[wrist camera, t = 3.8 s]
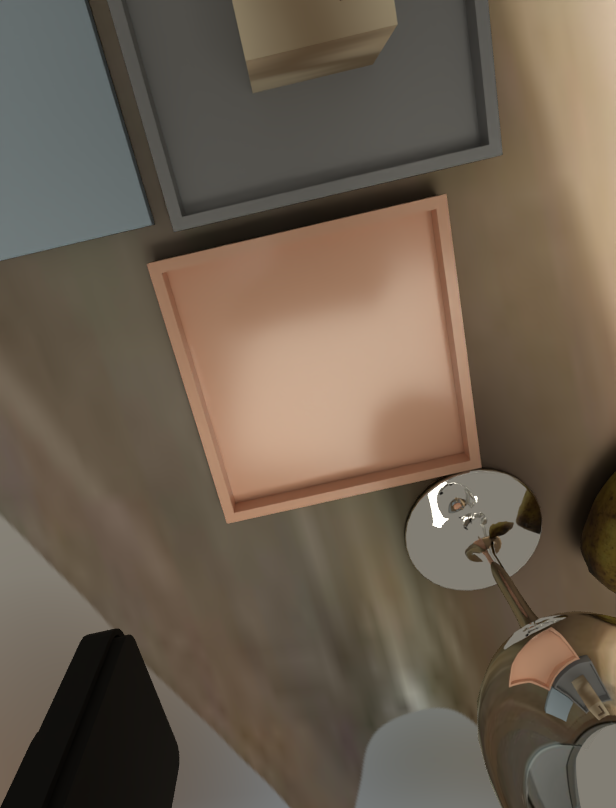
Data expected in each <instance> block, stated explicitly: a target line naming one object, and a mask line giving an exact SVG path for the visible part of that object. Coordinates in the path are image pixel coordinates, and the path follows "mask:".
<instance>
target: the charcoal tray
mask: <svg viewBox="0 0 616 808" xmlns="http://www.w3.org/2000/svg"><path fill="white" fill-rule="evenodd" d="M107 2H108V5H109V9H110V12H111V16H112V19H113V23H114V26H115V30H116V33H117V36H118V40H119V43H120V47H121V50H122V54H123V57H124V61H125V64H126V68H127V71H128V75H129V78H130V82H131V85H132V88H133V92H134V95H135V99H136V102H137V106H138V109H139V113H140V116H141V120H142V123H143V127H144V130H145V134H146V137H147V140H148V144H149V147H150V151H151V154H152V158H153V161H154V165H155V168H156V172H157V175H158V179H159V182H160V186H161V189H162V192H163V196H164V199H165V203H166V206H167V210H168V213H169V217H170V220H171V224H172V227H173V231H174V232H177V231H182V230H186V229H190V228H195V227H199V226H203V225H207V224H212V223H216V222H220V221H224V220H229V219H233V218H237V217H242V216H246V215H250V214H254V213H259V212H263V211H267V210H271V209H276V208H280V207H284V206H288V205H293V204H297V203H301V202H305V201H310V200H314V199H318V198H322V197H327V196H331V195H335V194H340V193H344V192H348V191H352V190H357V189H361V188H365V187H369V186H374V185H378V184H382V183H386V182H391V181H395V180H399V179H403V178H408V177H412V176H416V175H420V174H425V173H429V172H433V171H437V170H442V169H446V168H450V167H455V166H459V165H463V164H467V163H472V162H476V161H480V160H484V159H489V158H492V157H496V156H500V155H503V153H502V143H501V132H500V122H499V111H498V100H497V90H496V79H495V69H494V58H493V48H492V37H491V27H490V16H489V6H488V0H394V2H395V9H396V16H397V23H398V25H397V26H396V28H395V29H394V31H393V33H392V34H391V36H390V37H389V39H388V41H387V42H386V44H385V46H384V47H383V49H382V50H381V52H380V54H379V55H378V57H377V58H376V60H375V62H374V63H373V65H368V66H364V67H360V68H356V69H352V70H348V71H343V72H339V73H335V74H331V75H327V76H323V77H318V78H314V79H310V80H306V81H302V82H298V83H294V84H289V85H285V86H281V87H277V88H273V89H269V90H264V91H260V92H256V93H253V92H252V88H251V83H250V79H249V74H248V70H247V65H246V61H245V56H244V52H243V48H242V43H241V39H240V34H239V30H238V25H237V21H236V16H235V12H234V8H233V3H232V0H107Z"/></svg>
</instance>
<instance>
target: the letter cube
mask: <svg viewBox="0 0 616 808" xmlns="http://www.w3.org/2000/svg"><path fill="white" fill-rule="evenodd" d="M232 3H233V8H234V12H235V16H236V21H237V25H238V30H239V34H240V39H241V43H242V48H243V52H244V56H245V61H246V65H247V70H248V74H249V79H250V83H251V88H252V92H253V93H256V92H260V91H264V90H269V89H273V88H277V87H281V86H285V85H289V84H294V83H298V82H302V81H306V80H310V79H314V78H318V77H323V76H327V75H331V74H335V73H339V72H343V71H348V70H352V69H356V68H360V67H364V66H368V65H373V63H374V62H375V60H376V58H377V57H378V55H379V54H380V52H381V50H382V49H383V47H384V46H385V44H386V42H387V41H388V39H389V37H390V36H391V34H392V33H393V31H394V29H395V28H396V26H397V25H398V23H397V16H396V9H395V2H394V0H232Z"/></svg>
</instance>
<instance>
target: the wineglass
mask: <svg viewBox="0 0 616 808" xmlns="http://www.w3.org/2000/svg"><path fill="white" fill-rule="evenodd" d="M541 532H542V514H541V509H540V505H539V503H538V501H537V499H536V497H535V495H534V494H533V492H532V491H531V490H530V489H529V487H528V486H527V485H526V484H524V483H523V482H522V481H520V480H519V479H518V478H516V477H514V476H512V475H510V474H508V473H505V472H501V471H497V470H494V469H472V470H468V471H463V472H459V473H455V474H452V475H450V476H448V477H446V478H444V479H442V480H440V481H438V482H437V483H435V484H434V485H433V486H431V487H430V488H429V489H428V490H427V491H426V492H425V493H424V494H423V495H422V496H421V497H420V498H419V499H418V501H417V502H416V504H415V505H414V507H413V508H412V510H411V513H410V515H409V518H408V520H407V524H406V530H405V546H406V549H407V553H408V556H409V558H410V560H411V562H412V563H413V565H414V567H415V568H416V569H417V570H418V571H419V572H420V573H421V575H422V576H424V577H425V578H427V579H428V580H429V581H431V582H432V583H435V584H437V585H439V586H442V587H444V588H449V589H453V590H465V591H470V590H478V589H483V588H487V587H490V586H494V585H496V584H497V585H498V587H499V588H500V590H501V592H502V593H503V595H504V597H505V599H506V600H507V602H508V604H509V605H510V607H511V609H512V611H513V613H514V615H515V617H516V619H517V621H518V623H519V626H520V628H521V629H520V630H518V631H517V632H515V633H514V634H512V635H511V636H510V637H509V638H508V639H507V640H506V641H505V642H504V643H503V644H502V645H501V646H500V647H499V649H498V650H497V651H496V653H495V654H494V655H493V657H492V659H491V661H490V663H489V665H488V667H487V670H486V673H485V676H484V678H483V681H482V684H481V688H480V692H479V696H478V700H477V718H478V741H479V744H480V748H481V752H482V755H483V759H484V762H485V765H486V769H487V773H488V776H489V780H490V783H491V785H492V788H493V790H494V792H495V794H496V796H497V799H498V801H499V804H500V806H501V808H616V617H611V616H607V615H602V614H597V613H593V612H581V611H572V612H564V613H557V614H553V615H550V616H546V617H543V618H540V619H539V618H538V617H537V616H536V615H535V613H534V612H533V611H532V610H531V608H530V607H529V605H528V604H527V602H526V601H525V600H524V598H523V597H522V595H521V594H520V592H519V590H518V589H517V587H516V586H515V584H514V583H513V581H512V579H511V578H510V577H511V576H512V575H514V574H515V573H517V572H518V571H519V570H520V569H521V568H522V567H523V566H524V565H525V564H526V563H527V562H528V560H529V559H530V558H531V556H532V555H533V553H534V551H535V549H536V547H537V545H538V543H539V540H540V536H541Z"/></svg>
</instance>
